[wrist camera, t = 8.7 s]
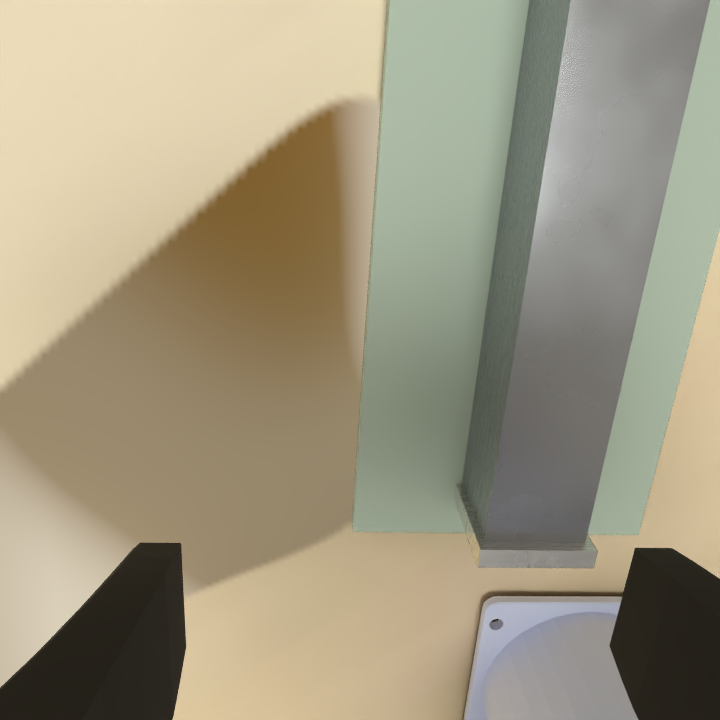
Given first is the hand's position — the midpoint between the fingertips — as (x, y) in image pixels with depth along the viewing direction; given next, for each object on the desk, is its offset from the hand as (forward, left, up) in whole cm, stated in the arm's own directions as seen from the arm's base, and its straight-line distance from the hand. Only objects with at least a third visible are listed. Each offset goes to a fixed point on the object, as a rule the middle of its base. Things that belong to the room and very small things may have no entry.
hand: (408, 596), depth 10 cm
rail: (+5, -5, -10) cm, 12 cm away
